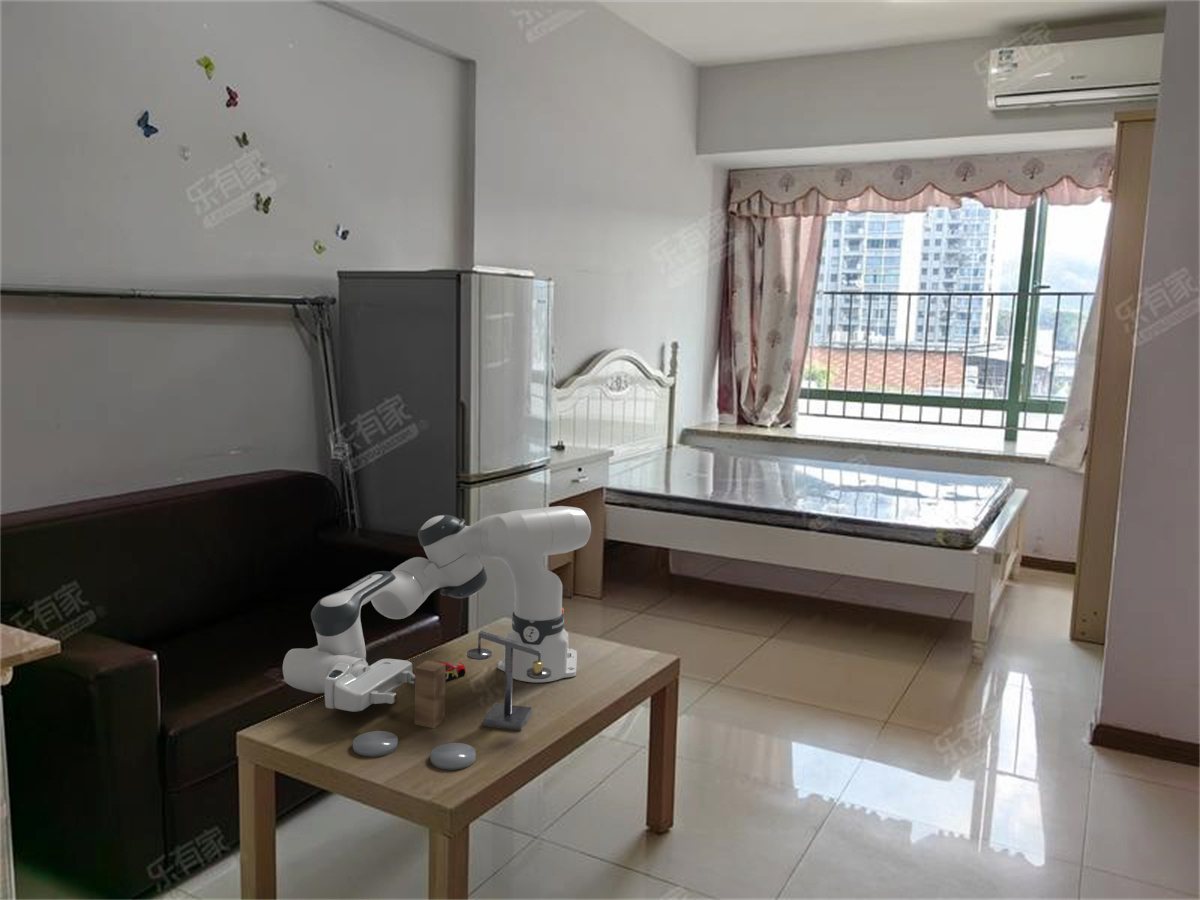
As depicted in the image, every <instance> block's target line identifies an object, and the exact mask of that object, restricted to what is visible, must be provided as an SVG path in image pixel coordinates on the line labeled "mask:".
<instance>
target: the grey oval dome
mask: <svg viewBox="0 0 1200 900" xmlns="http://www.w3.org/2000/svg"><path fill="white" fill-rule="evenodd" d="M398 742H399V738H398V736H397V735H396V734H394V733H392V732H389V731H385V730H373V731H367V732H364V733H360V734H359V735H357V736H356V737H354V738H353V740H352V751H353V750H354V751H353V753H355V754H356V753H357V755H358V754H360V755H359V756H361V755H363V757H366V756H369V758H373V757H375V758H376V757H382V756H387V755H389V754H391V753H393V752H395V751H396V750H397V749H398V746H399V743H398ZM370 756H372V757H370Z"/></svg>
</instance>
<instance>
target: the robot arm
mask: <svg viewBox="0 0 1200 900" xmlns="http://www.w3.org/2000/svg"><path fill="white" fill-rule="evenodd" d="M591 535H592V524H591V521H590V519H589V516H588V515H587V513H586V512H585V511H584V509H582V508H579V507H575V506H565V505H557V506H548V507H547V506H546V507H539V508H529V509H528V508H527V509H520V510H512V511H511V510H510V511H509V512H504V513H496V514H492V515H488V516H486V517H484V518H481V519H479V520H478V521H476V522H475V523H473V524H471V525H466V519H464V518H458V517H456V516H455V515H450V514H442V515H436V516H433V517H431V518H429V519H428V520H427V521H425V523H424V524H423V525H422V526H421V527H420V528H419V530H418V532H417V538H418V541H419V544H420V546H421V547H422V548H423V550H424V552H425V555H426V556H427V558H425V557H421V556H416V557H415V556H414V557H412V558H409V559H407V560H405V561H404V562H402V563H400V564H399V565H397V566H396V567H394V568H393V569H392V570H391V571H386V570H380V571H375V572H372V573H370V574H368V575H365V576H364V577H362V578H360V579H358V580H357V581H355V582H353V583H352V584H350V585H348V586H347V587H345V588H342V589H341V590H339V591H337V592H333V593H330V594H328V595H326V596H324V597H321V598H320V599H319V600H318V601H317V603H316V604H315V605H314V607H313V608H312V610H311V612H310V619H311V621H312V624H313V627H314V628H313V629H314V630H315V634H316V639H317V645H315V646H313V647H310V648H291V649H290V650H288V651H287V653H286V654H285V655H284V659H283V663H282V669H281V670H282V676H283V679H284V682H285V683H286V684H288V686H291V687H292V688H294V689H297V690H300V691H303V692H308V693H312V694H324V704H325V708H326V709H329V710H330V709H331V710H333V709H338V710H342V711H346V712H347V711H348V712H353V713H354V712H355V713H356V712H361V711H364V710H365V709H367V708H368V707H369V706H371V705H372V704H374V705H376V704H378V705H379V704H388V705H389V704H390V705H392V704H394V703H395V702H397V700H398V699H397V698H398V697H397V696H398V694H397V693H396V692H393V691H394V690H395V689H396V688H398V687H400V686H401V685H403V684H405V683H406V684H408V683H409V684H410V686H411V687H415V675H414V673H413V663H412V662H410V660H403V659H399V658H398V659H395V658H382V659H379V660H377V661H376V662H374V663H372V664H371V665H369V663H368V662H367V651H366V645H365V638H364V633H363V627H362V622H361V621H362V620H361V609H362V606H364V605H366V604H368V603H369V602H370V601H371V604H372V606H373V607H374V609H375V611H377V612H378V613H379V614H380V615H382V616H384V617H386V618H387V619H392V620H401V619H405V618H407V617H410V616H411V615H412V614H414V612H416V610H417V609H419V607H421V605H422V604H423V603H424V602H425V601H426V600H427V599H428V597H429V596H430V595H431V594H432V593H434V591H436V590H438V589H441V590H440V594H441V595H442V596H443V597H444V596H449V597H451V598H454V599H466V598H469V597H472V596H474V595H476V594H477V593H478V592H480V590H481V589H482V588H483V587H484V586H485V585H486V584H487V581H488V575H487V572H486V570H485V566H484V565H483V566H482V562H481V561H480V558H479V556H480V557H483V558H486V559H491V560H501V561H502V562H503V563H505V565H506V566H507V568H508V569H509V572H510V574H511V575H510V576H511V578H512V582H513V593H514V594H513V595H514V596H513V597H514V601H513V602H514V604H513V605H514V606H513V607H514V609H513V610H514V611H513V612H512V616H511V628H512V629H511V630H510V631H509V632H508V633H507V634H506V636H505V638H506V639H509V640H512V641H515V642H519V643H522V644H525V645H528V646H531V647H535V648H538V649H541V651H540V652H541V661H542V662H543V667H544V668H548V669H550V670H551V676H550V677H548V678H545V679H533V678H530V677H528V676H527V670H528V669H530V668H533V662H534V661H538V656H537V655H533V654H530V653H527V652H524V651H521V650H518V649H514V648H513V679H514V680H517V681H521V682H528V683H548V682H549V683H550V682H553V681H554V682H555V681H557V680H561V679H564V678H572V677H575V676H576V675H577V668H578V666H577V665H578V650H577V649H573V648H570V647H569V643H570V642H569V641H570V636H569V635H570V634H569V633H568V631H566V629H565V628H564V627H565V617H564V614H565V609H564V607H563V583H562V581H561V578H560V576H558V575H557V574H556V573H554V572H553V571H551V570H550V569H546V568H545V566H544V557H547V556H553V555H561V554H567V553H570V552H572V551H575V550H579V549H581V548H583V547H585V546H587V543H588V542H589V540H590V537H591ZM503 655H504V657H503V659H502V660H500V661H499V662H498V663H497V669H498V670H501V671H503V672H505V652H504V654H503Z"/></svg>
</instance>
